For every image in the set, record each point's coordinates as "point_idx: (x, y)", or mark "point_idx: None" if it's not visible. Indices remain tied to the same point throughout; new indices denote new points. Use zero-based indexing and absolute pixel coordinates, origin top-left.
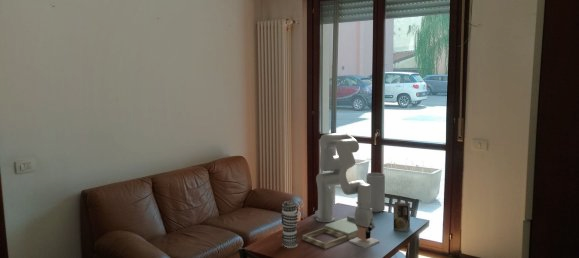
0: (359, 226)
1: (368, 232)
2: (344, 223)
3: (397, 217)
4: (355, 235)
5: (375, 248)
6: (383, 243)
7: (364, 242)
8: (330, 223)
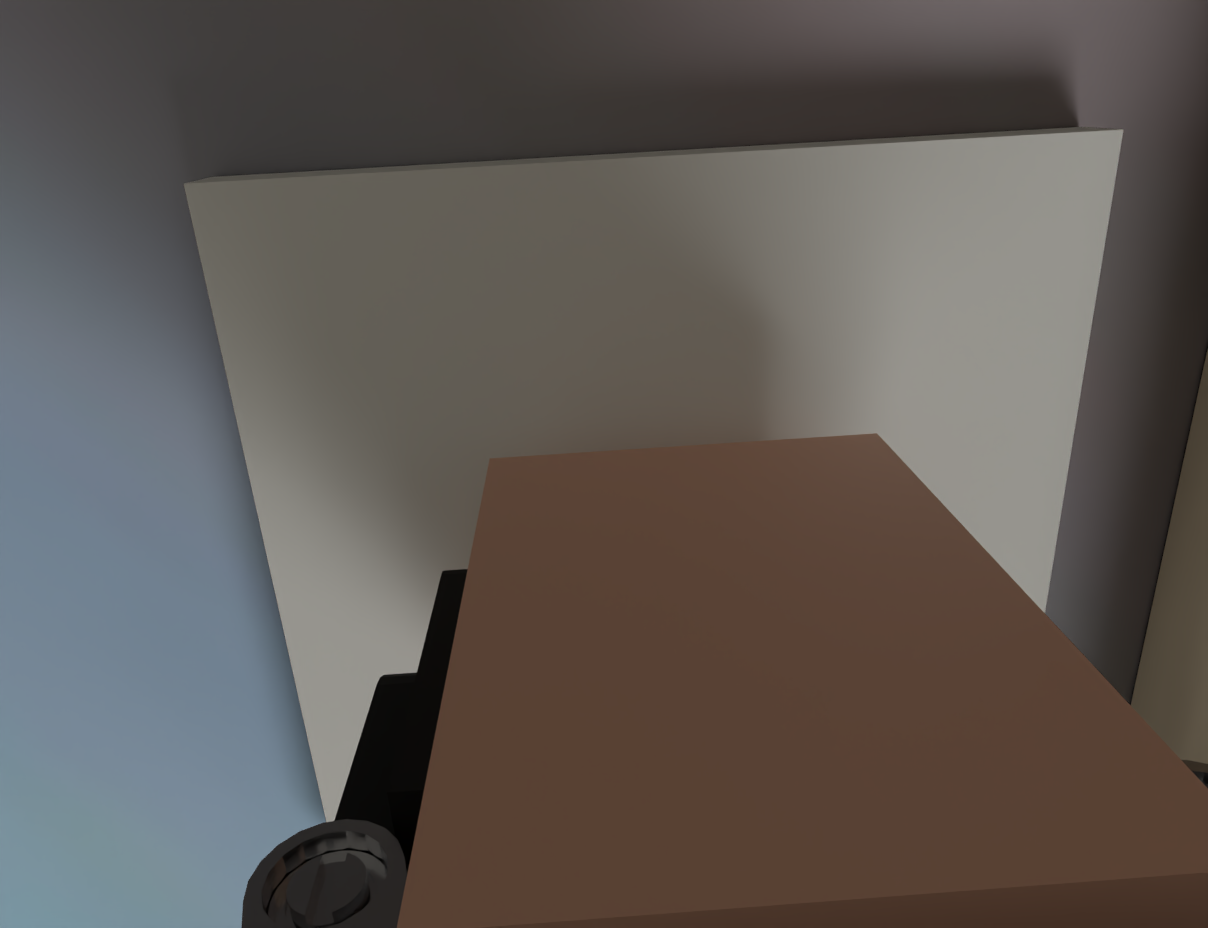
0: (1103, 922)
1: (336, 845)
2: None
3: None
4: (1177, 661)
5: (12, 432)
6: (220, 863)
7: (529, 442)
8: None
